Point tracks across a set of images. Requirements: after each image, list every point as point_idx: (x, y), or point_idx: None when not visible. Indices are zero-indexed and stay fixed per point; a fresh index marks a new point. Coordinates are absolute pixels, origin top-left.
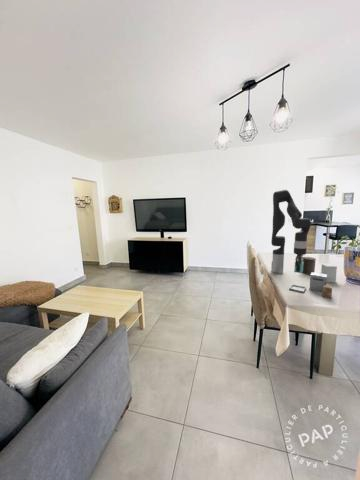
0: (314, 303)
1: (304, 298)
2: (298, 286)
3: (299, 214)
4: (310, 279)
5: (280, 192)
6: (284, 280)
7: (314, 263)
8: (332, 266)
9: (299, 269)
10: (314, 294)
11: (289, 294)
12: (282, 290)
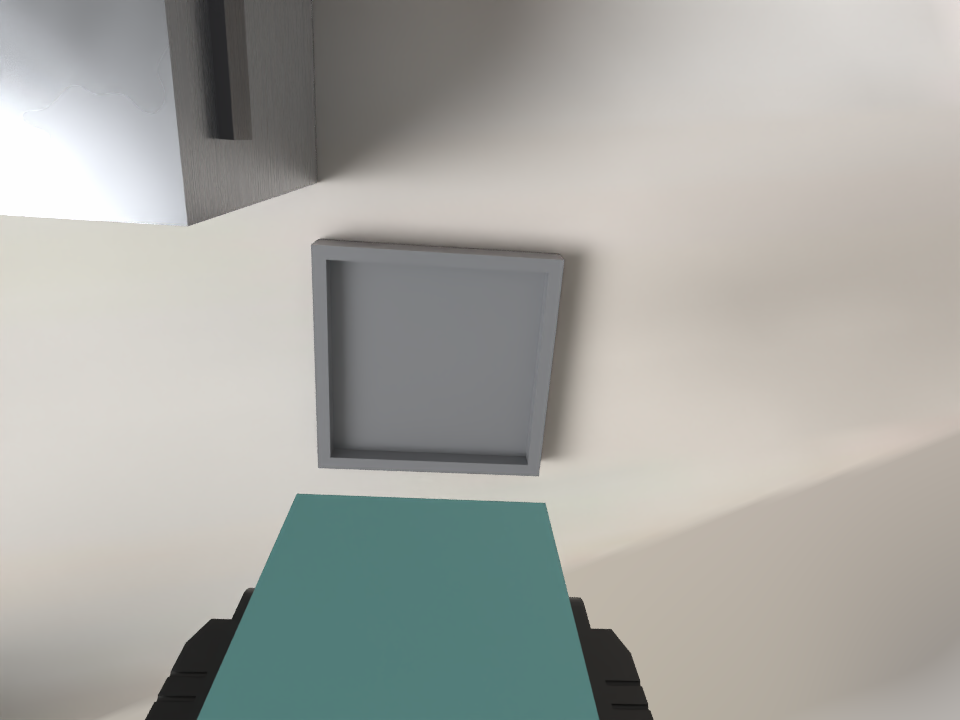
0: (950, 60)
1: (797, 221)
2: (331, 365)
3: None
4: (250, 196)
5: None
6: (131, 582)
7: None
8: None
9: (599, 681)
10: (530, 80)
11: (727, 428)
12: (612, 528)
